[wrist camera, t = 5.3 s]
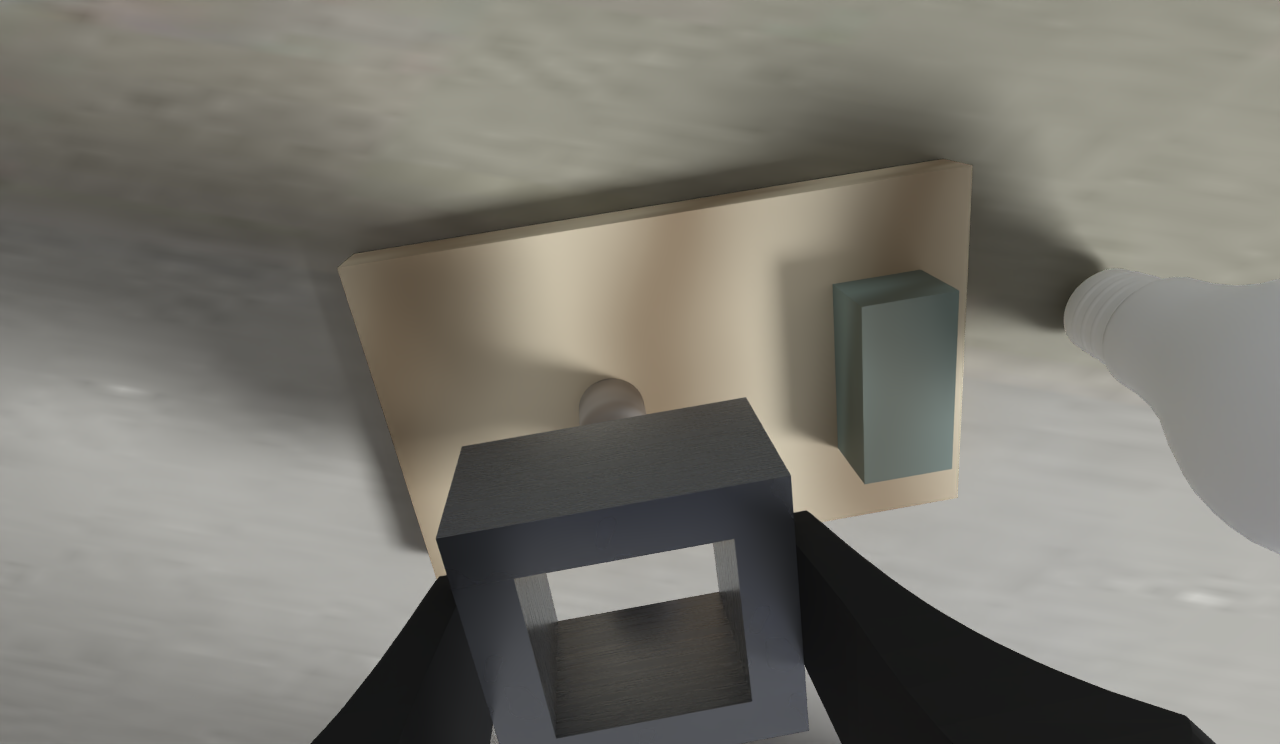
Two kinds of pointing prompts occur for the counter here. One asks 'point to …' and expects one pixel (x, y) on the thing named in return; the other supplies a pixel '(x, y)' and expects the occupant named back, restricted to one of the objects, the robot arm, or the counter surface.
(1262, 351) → the lightbulb
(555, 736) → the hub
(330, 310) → the counter surface
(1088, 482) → the counter surface
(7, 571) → the counter surface
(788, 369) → the stand
